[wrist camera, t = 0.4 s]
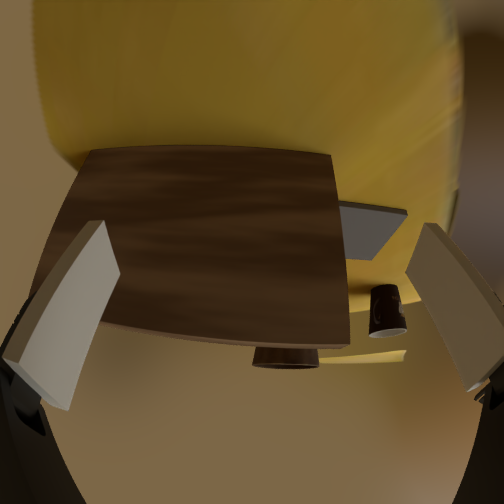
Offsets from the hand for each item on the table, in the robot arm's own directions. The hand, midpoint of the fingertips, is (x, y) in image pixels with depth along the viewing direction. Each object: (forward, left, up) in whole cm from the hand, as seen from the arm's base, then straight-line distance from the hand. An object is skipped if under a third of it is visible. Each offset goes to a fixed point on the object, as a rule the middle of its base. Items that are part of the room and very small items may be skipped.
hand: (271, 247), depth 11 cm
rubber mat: (+22, +12, -16) cm, 30 cm away
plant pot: (+53, +8, -16) cm, 56 cm away
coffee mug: (+42, +28, -16) cm, 53 cm away
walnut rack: (+20, -7, -16) cm, 27 cm away
